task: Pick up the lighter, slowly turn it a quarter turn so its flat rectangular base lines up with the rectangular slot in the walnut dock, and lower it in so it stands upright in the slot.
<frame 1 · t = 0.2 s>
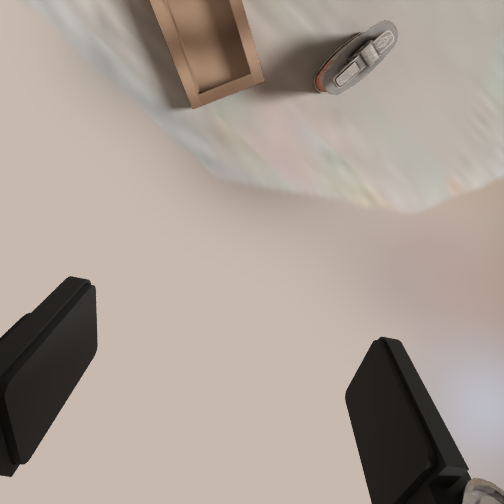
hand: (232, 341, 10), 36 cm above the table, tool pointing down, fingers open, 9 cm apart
lighter: (342, 63, 38), on the table
lighter dock: (210, 34, 37), on the table
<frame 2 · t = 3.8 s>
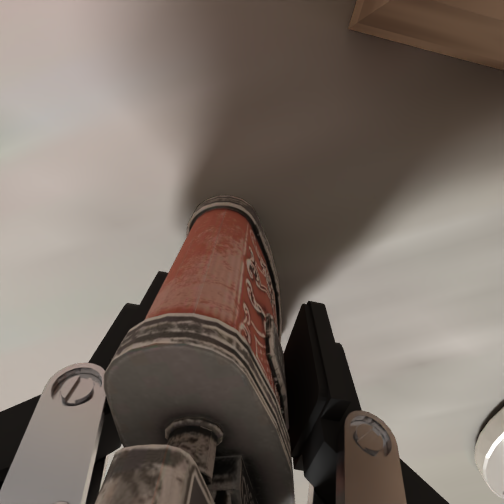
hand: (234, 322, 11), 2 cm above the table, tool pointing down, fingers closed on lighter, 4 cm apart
lighter: (239, 282, 14), on the table, touching gripper
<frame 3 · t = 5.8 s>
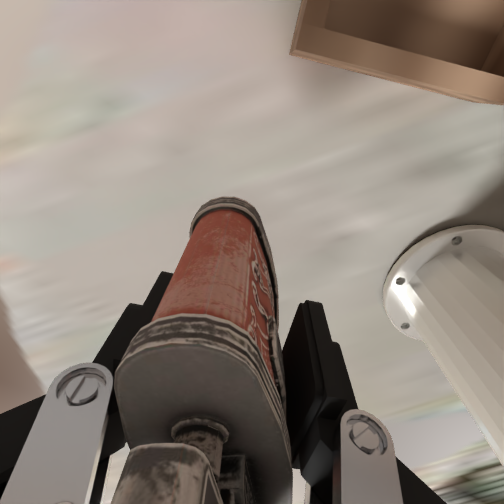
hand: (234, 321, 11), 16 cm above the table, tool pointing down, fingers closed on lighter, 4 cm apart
lighter: (238, 282, 14), point 13 cm above the table, touching gripper
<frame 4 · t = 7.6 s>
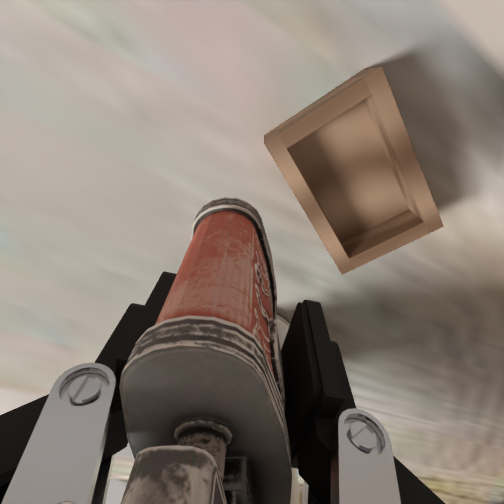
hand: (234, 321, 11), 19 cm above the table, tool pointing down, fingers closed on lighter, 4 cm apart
lighter: (237, 283, 14), point 17 cm above the table, touching gripper
lighter dock: (346, 173, 28), on the table
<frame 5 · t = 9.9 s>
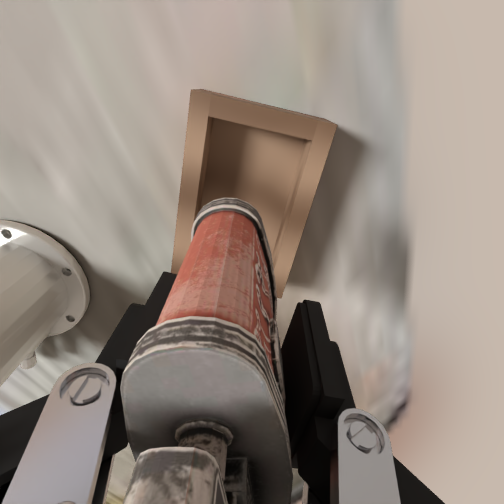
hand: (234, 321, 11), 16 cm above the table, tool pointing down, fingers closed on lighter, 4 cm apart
lighter: (237, 283, 14), point 13 cm above the table, touching gripper
lighter dock: (245, 193, 25), on the table
when the fingers open (5 cm above the table, at t = 11.8 s): lighter drops 1 cm, resting on lighter dock.
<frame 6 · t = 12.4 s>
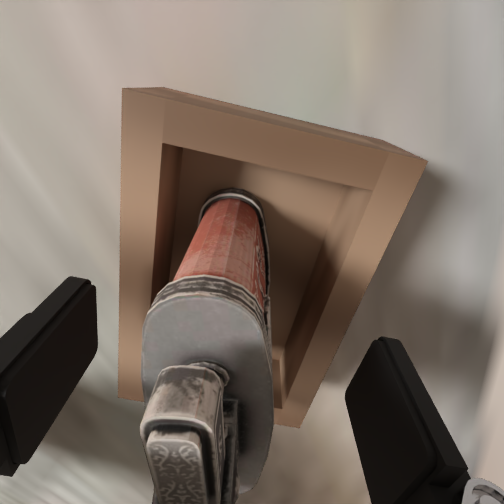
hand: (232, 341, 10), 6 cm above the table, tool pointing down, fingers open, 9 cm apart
lighter: (234, 267, 15), point 1 cm above the table, touching lighter dock
lighter dock: (242, 256, 16), on the table
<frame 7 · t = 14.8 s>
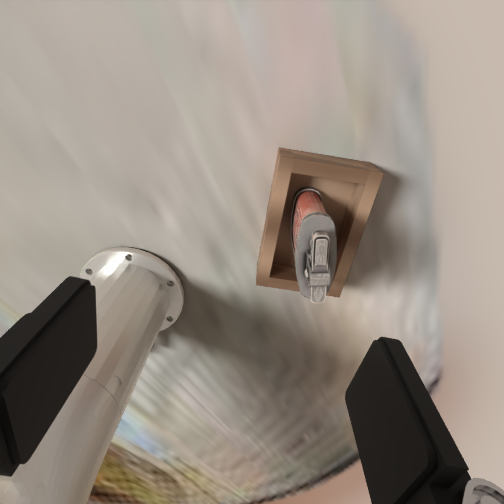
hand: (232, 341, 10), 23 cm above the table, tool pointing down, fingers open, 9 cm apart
lighter: (306, 223, 32), point 1 cm above the table, touching lighter dock
lighter dock: (308, 218, 33), on the table
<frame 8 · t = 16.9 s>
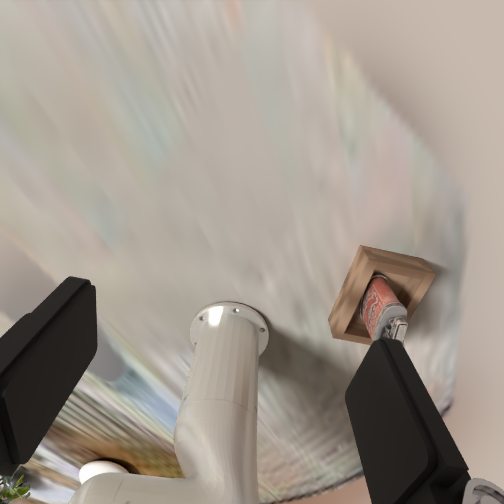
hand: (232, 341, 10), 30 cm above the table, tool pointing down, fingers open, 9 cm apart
lighter: (371, 295, 45), point 1 cm above the table, touching lighter dock
passion flower: (10, 468, 73), on the table
flower in vase: (112, 468, 72), on the table
lighter dock: (372, 290, 46), on the table
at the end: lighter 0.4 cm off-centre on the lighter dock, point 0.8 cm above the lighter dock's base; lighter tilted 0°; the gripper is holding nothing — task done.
